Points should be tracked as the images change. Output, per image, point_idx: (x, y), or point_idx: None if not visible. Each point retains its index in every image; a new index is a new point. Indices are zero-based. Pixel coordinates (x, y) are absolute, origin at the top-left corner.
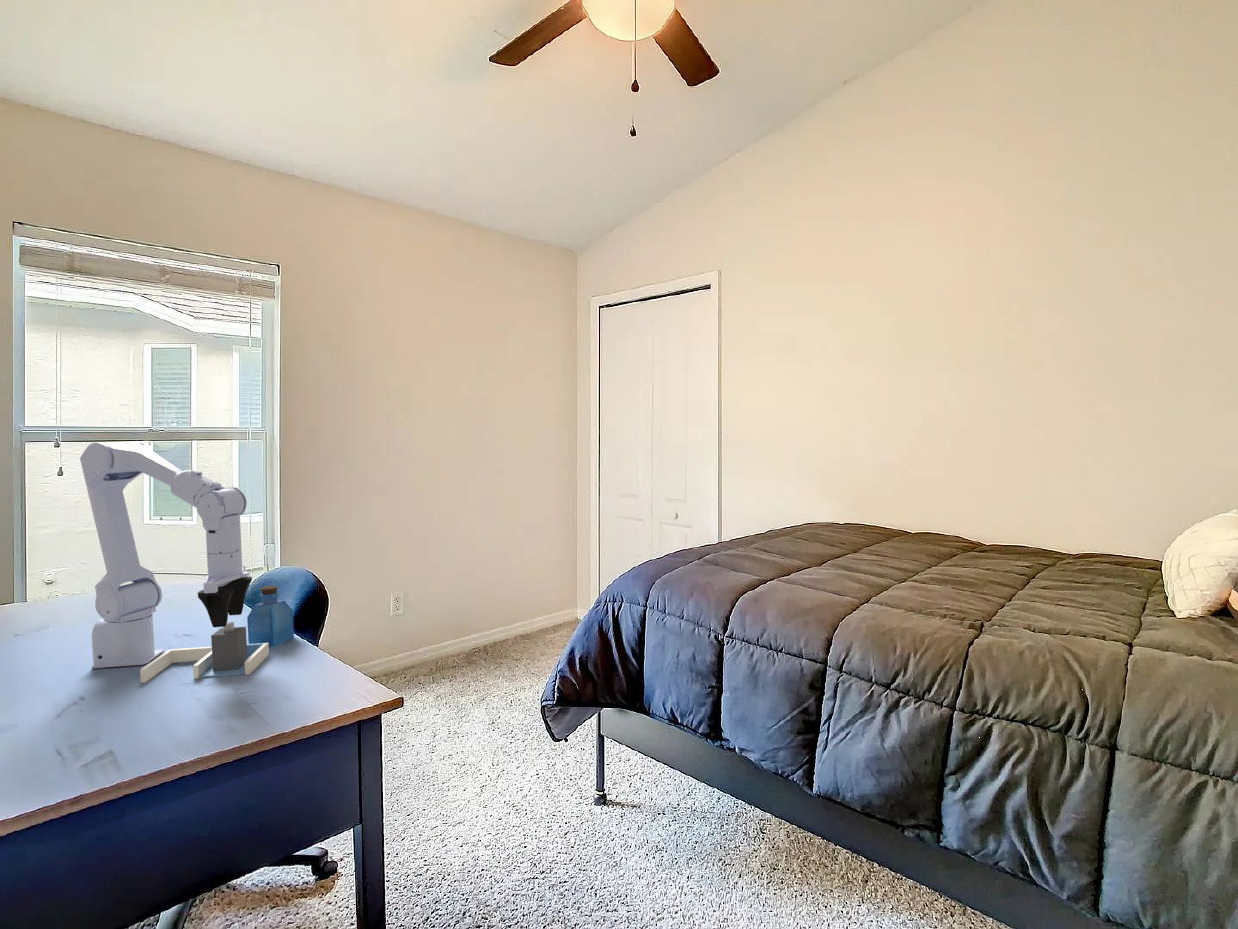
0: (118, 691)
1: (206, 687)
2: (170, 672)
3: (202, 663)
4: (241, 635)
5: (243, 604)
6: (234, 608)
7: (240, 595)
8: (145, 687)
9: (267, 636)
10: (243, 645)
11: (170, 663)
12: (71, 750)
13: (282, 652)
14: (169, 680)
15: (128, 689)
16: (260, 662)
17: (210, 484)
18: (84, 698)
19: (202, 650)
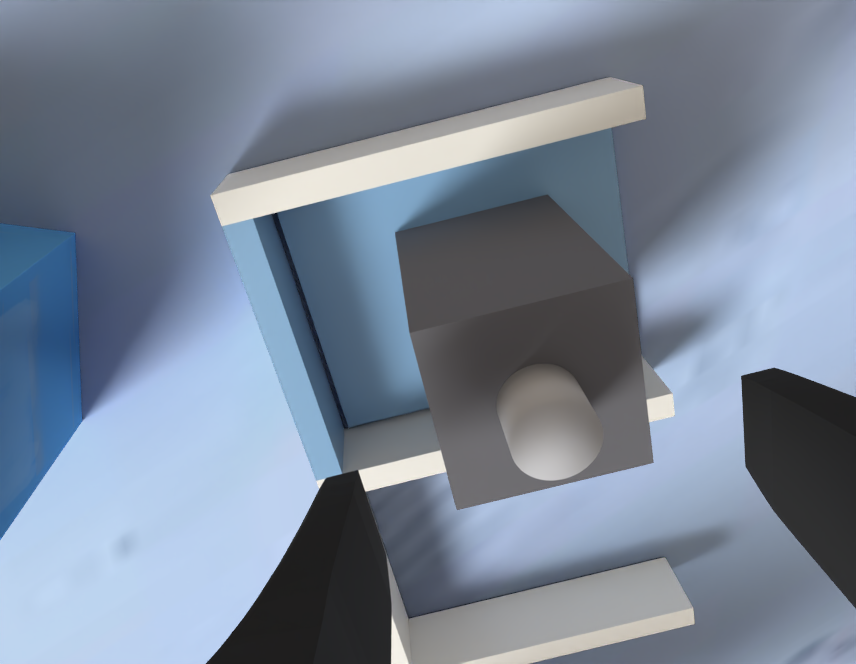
0: (752, 589)
1: (784, 225)
2: (537, 543)
3: None
4: (518, 285)
5: (300, 533)
6: (373, 565)
7: (334, 644)
8: (724, 519)
9: (45, 309)
10: (468, 260)
11: (424, 617)
12: None
13: (166, 96)
14: (647, 478)
15: (736, 568)
16: (405, 129)
17: None
18: (804, 650)
19: None
